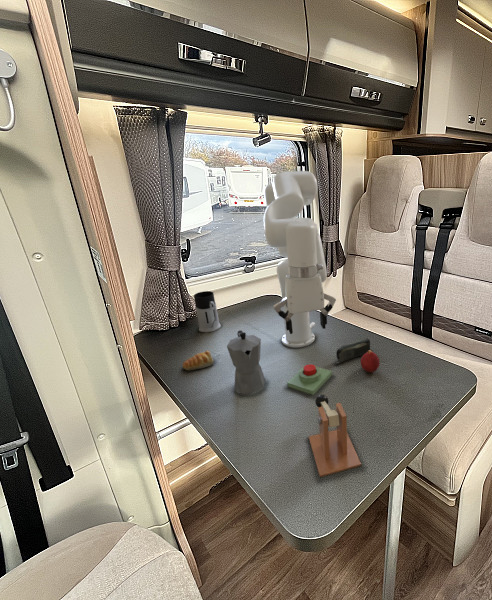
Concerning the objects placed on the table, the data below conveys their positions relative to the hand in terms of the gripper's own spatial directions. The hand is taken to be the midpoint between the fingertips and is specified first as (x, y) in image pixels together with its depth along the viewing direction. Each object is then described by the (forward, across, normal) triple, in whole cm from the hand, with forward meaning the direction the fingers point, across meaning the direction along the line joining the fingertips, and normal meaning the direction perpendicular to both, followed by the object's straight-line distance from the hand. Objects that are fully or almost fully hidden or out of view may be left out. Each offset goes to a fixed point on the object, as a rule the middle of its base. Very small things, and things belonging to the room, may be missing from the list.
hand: (307, 329), depth 89 cm
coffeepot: (+18, +18, -5) cm, 26 cm away
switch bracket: (+18, +1, +28) cm, 33 cm away
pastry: (+18, +33, -22) cm, 44 cm away
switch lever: (+11, +1, +23) cm, 26 cm away
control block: (+18, 0, 0) cm, 18 cm away
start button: (+14, 0, 0) cm, 14 cm away
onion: (+18, -19, +1) cm, 26 cm away
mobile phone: (+18, -17, -10) cm, 27 cm away
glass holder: (+19, +31, -49) cm, 61 cm away
